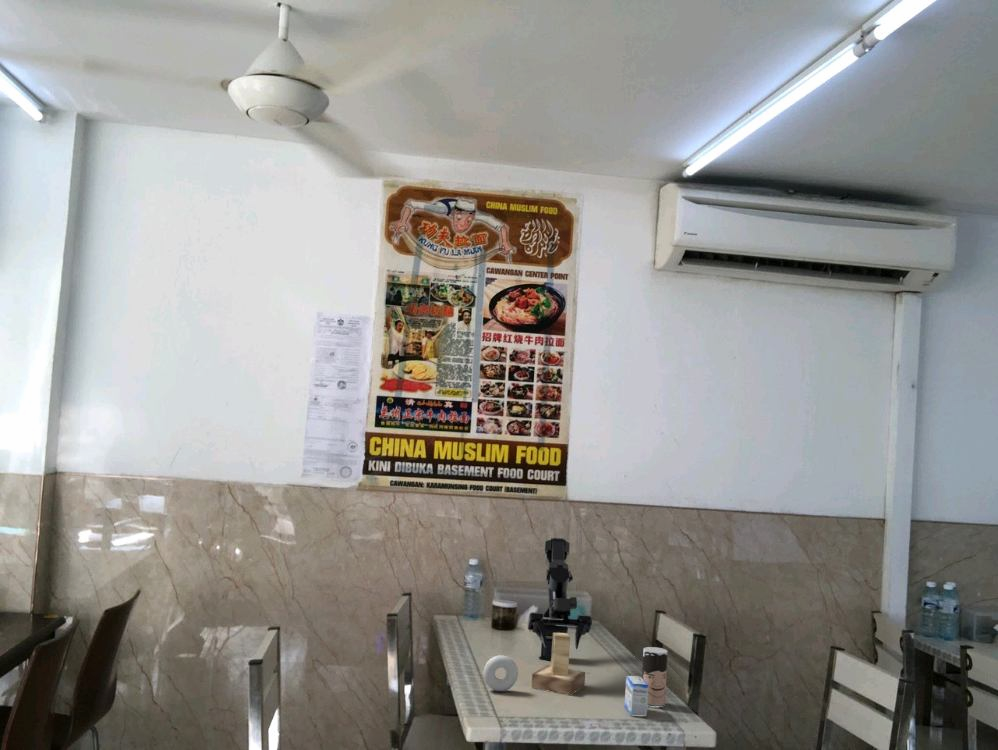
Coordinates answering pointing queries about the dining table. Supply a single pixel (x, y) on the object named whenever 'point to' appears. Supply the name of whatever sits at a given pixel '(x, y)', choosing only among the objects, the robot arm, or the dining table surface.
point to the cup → (655, 674)
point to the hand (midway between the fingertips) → (561, 647)
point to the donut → (507, 680)
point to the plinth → (558, 680)
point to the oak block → (560, 653)
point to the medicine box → (636, 695)
